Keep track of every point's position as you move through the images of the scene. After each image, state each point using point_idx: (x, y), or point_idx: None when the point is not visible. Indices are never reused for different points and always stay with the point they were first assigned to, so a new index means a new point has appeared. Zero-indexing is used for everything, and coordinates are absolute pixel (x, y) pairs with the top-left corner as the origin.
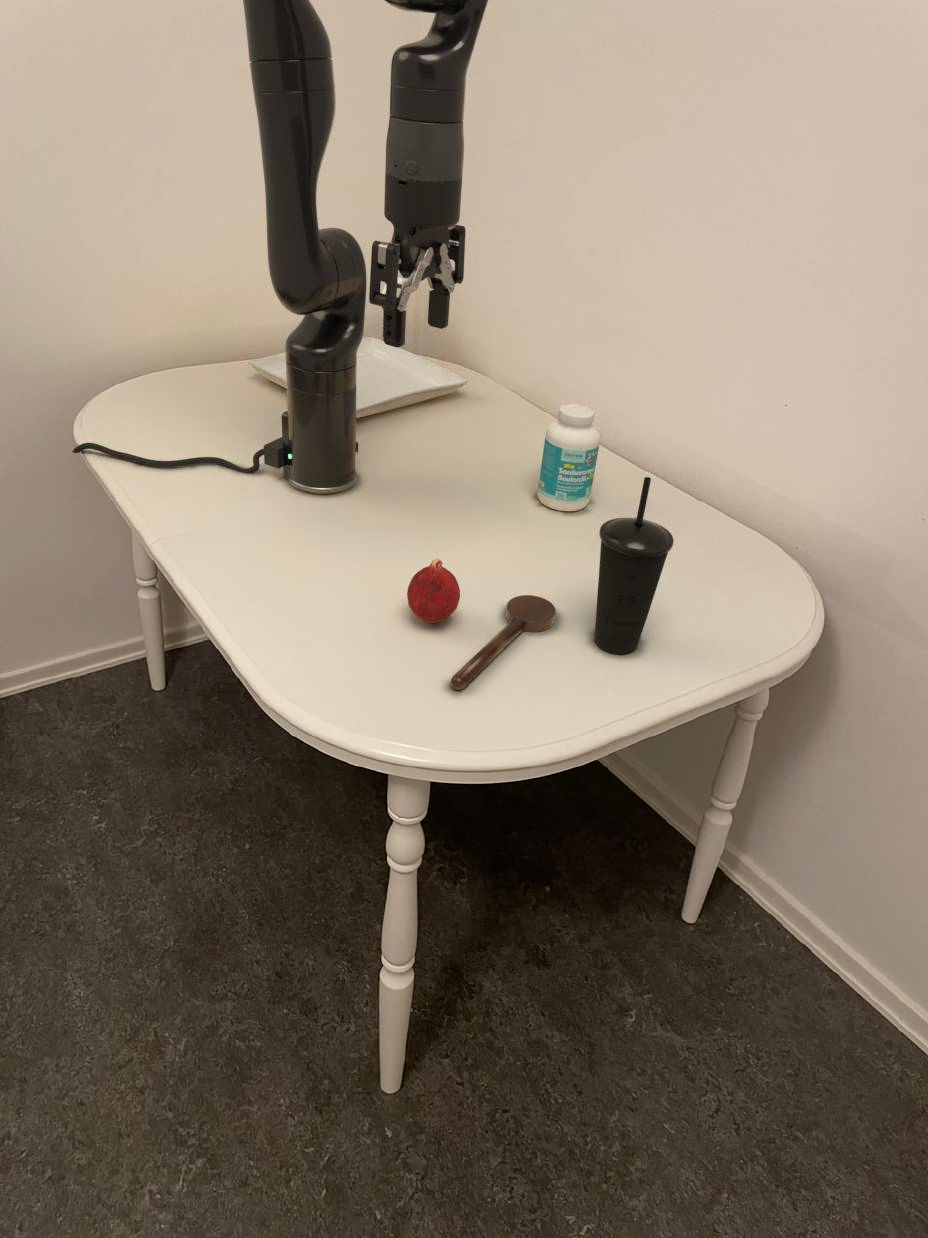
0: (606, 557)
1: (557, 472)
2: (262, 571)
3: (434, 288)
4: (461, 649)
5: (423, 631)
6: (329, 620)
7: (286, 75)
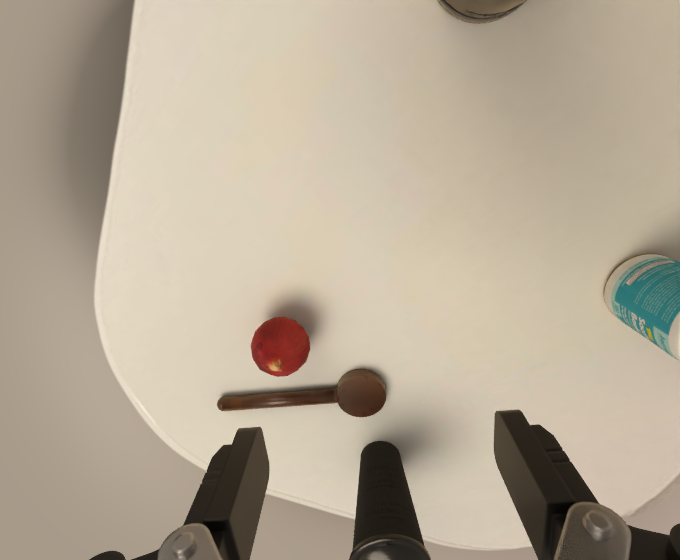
0: (356, 535)
1: (638, 314)
2: (218, 118)
3: (559, 530)
4: None
5: None
6: (210, 253)
7: None
